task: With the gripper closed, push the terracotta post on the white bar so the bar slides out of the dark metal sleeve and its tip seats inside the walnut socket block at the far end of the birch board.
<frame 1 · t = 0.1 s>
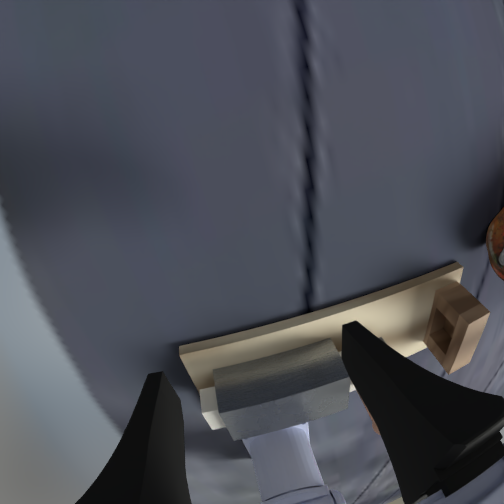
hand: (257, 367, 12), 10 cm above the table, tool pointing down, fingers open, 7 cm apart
white bar: (310, 414, 21), point 6 cm above the table, slide at 0.0 cm
base board: (339, 344, 27), on the table
sleeve: (273, 364, 26), resting on base board
socket block: (434, 307, 28), resting on base board
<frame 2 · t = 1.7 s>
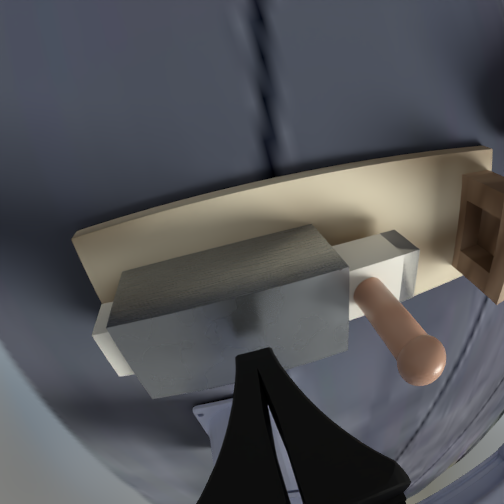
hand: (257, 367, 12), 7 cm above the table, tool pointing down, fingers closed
white bar: (277, 347, 12), point 6 cm above the table, slide at 0.0 cm
base board: (329, 250, 18), on the table
sleeve: (224, 277, 18), resting on base board
socket block: (462, 213, 19), resting on base board
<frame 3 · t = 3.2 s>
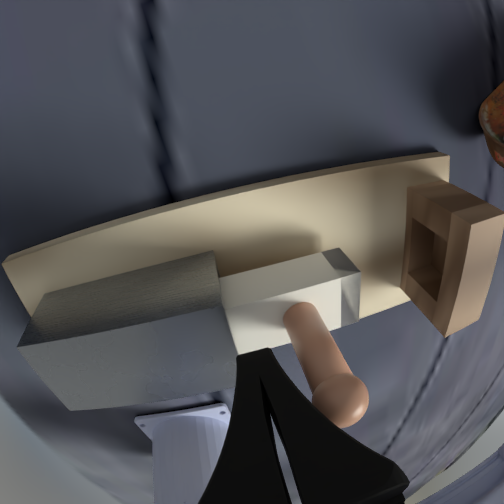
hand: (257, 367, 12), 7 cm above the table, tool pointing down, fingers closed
white bar: (193, 372, 12), point 6 cm above the table, slide at 1.6 cm, touching gripper
base board: (244, 275, 17), on the table
sleeve: (138, 300, 17), resting on base board
socket block: (413, 229, 18), resting on base board
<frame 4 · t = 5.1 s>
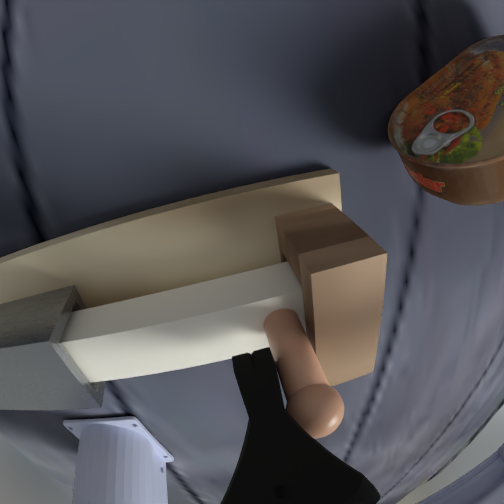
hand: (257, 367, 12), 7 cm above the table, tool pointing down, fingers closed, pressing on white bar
white bar: (171, 376, 12), point 6 cm above the table, slide at 8.5 cm, touching gripper, socket block
base board: (115, 305, 17), on the table
sleeve: (37, 322, 16), resting on base board
socket block: (304, 260, 18), resting on base board
tin: (448, 89, 14), on the table
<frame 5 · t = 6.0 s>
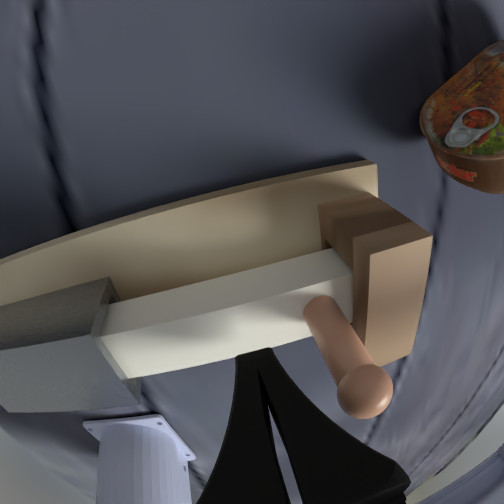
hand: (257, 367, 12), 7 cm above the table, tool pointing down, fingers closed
white bar: (214, 367, 12), point 6 cm above the table, slide at 8.0 cm
base board: (149, 297, 17), on the table
sleeve: (62, 318, 16), resting on base board
socket block: (340, 248, 18), resting on base board
tin: (467, 88, 14), on the table
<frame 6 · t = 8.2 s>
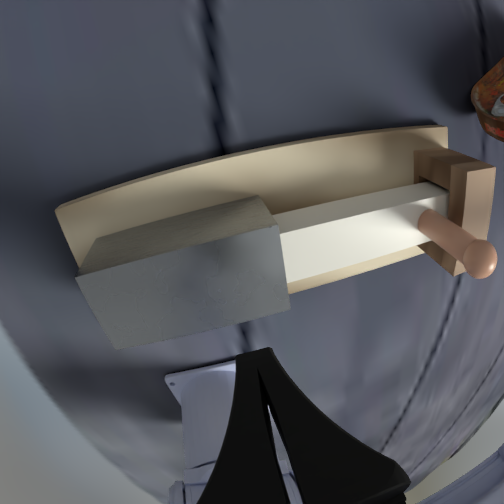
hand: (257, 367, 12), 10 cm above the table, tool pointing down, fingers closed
white bar: (373, 254, 15), point 6 cm above the table, slide at 8.0 cm
base board: (280, 222, 20), on the table
sleeve: (185, 246, 19), resting on base board
socket block: (420, 190, 21), resting on base board
tin: (496, 81, 17), on the table
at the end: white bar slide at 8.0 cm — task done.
